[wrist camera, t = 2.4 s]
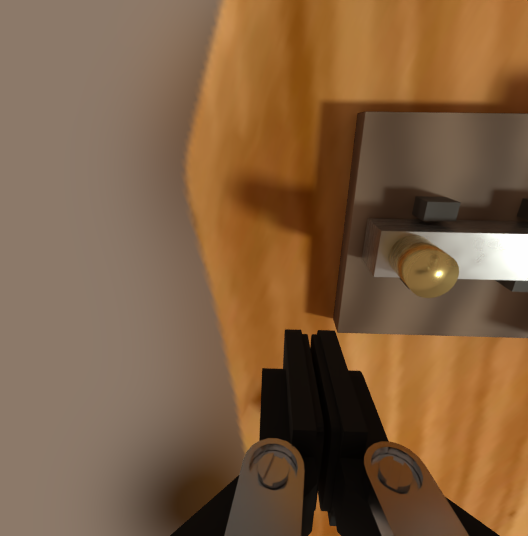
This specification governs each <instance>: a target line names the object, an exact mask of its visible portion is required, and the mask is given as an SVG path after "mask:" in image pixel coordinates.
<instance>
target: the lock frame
mask: <svg viewBox="0 0 528 536" xmlns="http://www.w3.org/2000/svg"><path fill="white" fill-rule="evenodd" d="M368 218H380V219H421V220H423V221H446V222H456V220H479V221H528V114H509V113H428V112H362V113H358V115H357V123H356V132H355V140H354V149H353V157H352V165H351V174H350V182H349V191H348V199H347V208H346V216H345V224H344V233H343V241H342V250H341V258H340V267H339V275H338V284H337V292H336V300H335V309H334V317H333V320H334V323H335V326H336V329H337V332H338V333H370V334H405V335H440V336H476V337H511V338H528V281H521V280H480V279H457V281H456V283H455V285H454V286H453V287H452V288H451V289H450V290H449V291H448V292H446V293H445V294H443V295H441V296H438V297H434V298H423V297H419V296H417V295H416V294H414V293H413V292H412V291H411V290H410V289H409V287H408V286H407V285H406V284H405V283H404V282H403V280H402V279H401V278H398V277H373V275H372V274H371V272H370V271H369V269H368V268H367V266H366V265H365V263H364V262H363V260H362V253H363V247H364V240H365V233H366V226H367V220H368Z"/></svg>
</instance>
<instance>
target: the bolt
mask: <svg viewBox="0 0 528 536" xmlns="http://www.w3.org/2000/svg"><path fill="white" fill-rule="evenodd" d="M362 260H363V262H364V263H365V265H366V266H367V268H368V269H369V271H370V272H371V274H372V275H373V277H398V278H401V279H402V280H403V282H404V283H405V284H406V285H407V286H408V287H409V289H410V290H411V291H412V292H413V293H414V294H416V295H417V296H419V297H423V298H434V297H438V296H441V295H443V294H445V293H446V292H448V291H449V290H450V289H451V288H452V287H453V286H454V285H455V283H456V281H457V279H480V280H521V281H528V221H479V220H456V222H446V221H423V220H421V219H380V218H368V220H367V226H366V233H365V240H364V247H363V253H362Z"/></svg>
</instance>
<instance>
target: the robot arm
mask: <svg viewBox="0 0 528 536" xmlns="http://www.w3.org/2000/svg"><path fill="white" fill-rule="evenodd" d="M317 493H318V495H319V503H320V509H321V511H328V517H329V524H330V526H337V532H338V533H339V534H340V535H341V536H499V535H498V534H497V533H495V532H494V531H492V530H491V529H490V528H488V527H487V526H485V525H484V524H483V523H481V522H480V521H478V520H477V519H476V518H474V517H473V516H471V515H470V514H469V513H467V512H466V511H464V510H463V509H462V508H460V507H459V506H457V505H456V504H455V503H453V502H452V501H450V500H449V499H448V498H446V497H445V496H444V495H443V493H442V491H441V490H440V488H439V487H438V485H437V483H436V482H435V480H434V479H433V477H432V475H431V474H430V472H429V471H428V469H427V467H426V466H425V465H424V463H423V462H422V461H421V459H420V458H419V457H418V456H417V455H416V454H414V453H413V452H412V451H411V450H410V449H408V448H406V447H404V446H402V445H400V444H397V443H393V442H389V441H388V439H387V436H386V434H385V431H384V428H383V426H382V423H381V421H380V418H379V415H378V413H377V410H376V408H375V405H374V402H373V400H372V397H371V395H370V392H369V390H368V387H367V384H366V382H365V379H364V377H363V374H362V372H360V371H348V369H347V366H346V363H345V360H344V357H343V354H342V351H341V348H340V345H339V342H338V339H337V336H336V333H335V331H328V330H318V332H317V335H316V334H312V336H311V347H310V345H309V340H308V335H307V334H302V332H301V330H285V338H284V360H283V369H266V368H262V390H261V415H260V441H258V442H257V443H255V444H253V445H252V446H251V447H250V449H249V450H248V451H247V452H246V455H245V457H244V459H243V463H242V467H241V471H240V475H239V476H238V477H236V478H235V479H234V480H233V481H232V482H231V483H230V484H228V485H227V486H226V487H225V488H224V489H223V490H222V491H221V492H219V493H218V494H217V495H216V496H215V497H214V498H213V499H212V500H210V501H209V502H208V503H207V504H206V505H205V506H203V507H202V508H201V509H200V510H199V511H198V512H197V513H195V514H194V515H193V516H192V517H191V518H190V519H189V520H187V521H186V522H185V523H184V524H183V525H182V526H181V527H179V528H178V529H177V530H176V531H175V532H174V533H173V534H171V535H170V536H308V535H309V534H310V533H311V531H312V525H313V516H314V511H315V509H316V502H317Z"/></svg>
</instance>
